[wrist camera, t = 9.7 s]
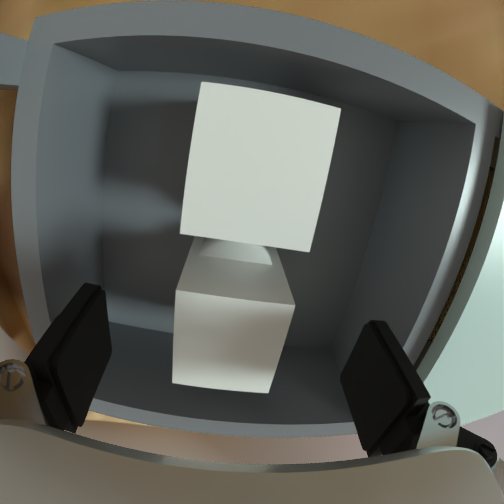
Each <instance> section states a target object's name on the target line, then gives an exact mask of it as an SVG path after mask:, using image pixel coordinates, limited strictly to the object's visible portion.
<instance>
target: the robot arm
mask: <svg viewBox="0 0 504 504" xmlns="http://www.w3.org/2000/svg"><path fill="white" fill-rule="evenodd" d="M111 354H112V344H111V337H110V329H109V321H108V312H107V301H106V292H105V291H104V290H102V289H101V286H100V285H96V284H91V283H84V284H83V285H82V286H81V287H80V289H79V290H78V291H77V293H76V294H75V295H74V296H73V298H72V299H71V300H70V301H69V303H68V304H67V305H66V307H65V308H64V309H63V311H62V312H61V313H60V314H59V315H58V316H57V317H56V318H55V319H54V321H53V322H52V323H51V325H50V326H49V327H48V329H47V330H46V332H45V333H44V334H43V336H42V337H41V339H40V340H39V341H38V343H37V344H36V346H35V347H34V349H33V350H32V352H31V353H30V355H29V356H28V358H27V359H26V361H25V362H24V363H23V362H21V361H19V360H14V359H11V360H5V361H3V362H0V504H504V461H503V460H501V459H500V458H499V459H498V460H497V452H496V449H495V448H494V446H493V444H491V443H490V442H489V441H487V440H486V439H484V438H482V437H480V436H478V435H476V434H474V433H472V432H470V431H468V430H466V429H464V428H462V427H460V417H459V414H458V412H457V411H456V409H455V408H454V407H453V406H451V405H450V404H448V403H446V402H443V401H436V402H433V403H432V404H431V405H430V404H429V402H428V401H429V399H430V398H431V396H430V394H429V392H428V390H427V389H426V387H425V385H424V383H423V382H422V380H421V378H420V377H419V375H418V373H417V371H416V370H415V368H414V366H413V365H412V363H411V361H410V360H409V358H408V356H407V355H406V353H405V351H404V350H403V348H402V346H401V345H400V343H399V342H398V340H397V338H396V337H395V335H394V334H393V332H392V330H391V329H390V327H389V326H388V324H387V323H386V322H385V321H383V320H370V321H369V322H368V323H366V324H365V325H364V326H363V328H362V331H361V333H360V335H359V337H358V339H357V342H356V344H355V346H354V348H353V350H352V352H351V354H350V356H349V358H348V360H347V362H346V364H345V366H344V368H343V370H342V372H341V375H340V382H341V385H342V388H343V391H344V394H345V397H346V400H347V403H348V406H349V409H350V412H351V415H352V418H353V421H354V424H355V427H356V430H357V433H358V436H359V439H360V442H361V446H362V448H363V450H365V451H367V455H368V458H361V459H354V460H347V461H336V462H325V463H310V464H283V465H264V464H236V463H220V462H209V461H200V460H192V459H184V458H177V457H171V456H164V455H159V454H153V453H148V452H142V451H138V450H134V449H129V448H125V447H121V446H117V445H113V444H109V443H105V442H101V441H97V440H93V439H90V438H87V437H83V436H80V435H76V434H73V433H75V432H76V430H77V427H78V426H79V427H81V426H82V425H83V423H84V421H85V418H86V416H87V413H88V410H89V408H90V405H91V403H92V400H93V398H94V395H95V393H96V390H97V388H98V385H99V383H100V381H101V378H102V376H103V374H104V371H105V369H106V367H107V364H108V362H109V360H110V357H111ZM64 430H67V431H69V432H67V431H64ZM70 432H72V433H70Z"/></svg>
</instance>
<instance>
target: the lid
mask: <svg viewBox="0 0 504 504" xmlns="http://www.w3.org/2000/svg"><path fill="white" fill-rule="evenodd" d="M416 371H417V373H418V375H419V377H420V378H421V380H422V382H423V383H424V385H425V387H426V389H427V390H428V392H429V394H430V396H431V398H430V399H429V401H428V402H429V404H430V405H431V404H432V403H433V402H436V401H443V402H446V403H448V404H450V405H451V406H453V407H454V408H455V409H456V411H457V412H458V414H459V417H460V426H461V425H464V424H467V423H470V422H473V421H476V420H479V419H482V418H484V417H487V416H490V415H492V414H495V413H497V412H500V411H502V410H504V116H503V125H502V133H501V140H500V146H499V152H498V158H497V163H496V169H495V173H494V178H493V183H492V187H491V191H490V195H489V199H488V203H487V207H486V210H485V214H484V217H483V221H482V224H481V227H480V231H479V234H478V237H477V240H476V243H475V246H474V249H473V252H472V254H471V257H470V260H469V263H468V265H467V268H466V270H465V273H464V275H463V278H462V280H461V283H460V285H459V288H458V290H457V292H456V295H455V297H454V299H453V301H452V304H451V306H450V308H449V310H448V312H447V314H446V316H445V319H444V321H443V323H442V325H441V327H440V329H439V331H438V333H437V334H436V336H435V338H434V340H433V342H432V344H431V346H430V348H429V349H428V351H427V353H426V355H425V357H424V358H423V360H422V362H421V363H420V365H419V367H418V369H417V370H416Z"/></svg>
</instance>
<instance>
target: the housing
mask: <svg viewBox="0 0 504 504" xmlns="http://www.w3.org/2000/svg"><path fill="white" fill-rule="evenodd" d="M201 82H210V83H218V84H226V85H233V86H240V87H246V88H252V89H258V90H264V91H269V92H274V93H279V94H284V95H289V96H293V97H298V98H302V99H306V100H310V101H315V102H318V103H322V104H326V105H330V106H333V107H337V108H341V112H340V118H339V123H338V128H337V133H336V138H335V143H334V148H333V153H332V158H331V162H330V167H329V172H328V176H327V181H326V185H325V190H324V194H323V199H322V203H321V207H320V211H319V216H318V220H317V224H316V228H315V232H314V236H313V240H312V244H311V248H310V252H304V251H297V250H290V249H283V248H276V249H277V252H278V255H279V258H280V261H281V264H282V267H283V270H284V273H285V276H286V278H287V281H288V284H289V287H290V290H291V293H292V296H293V299H294V302H295V309H294V312H293V316H292V319H291V323H290V326H289V329H288V333H287V336H286V339H285V343H284V346H283V349H282V352H281V355H280V359H279V362H278V365H277V368H276V371H275V374H274V377H273V380H272V383H271V386H270V389H269V392H268V393H256V392H243V391H232V390H222V389H213V388H204V387H197V386H189V385H182V384H176V383H172V370H173V335H174V313H175V296H176V288H177V285H178V282H179V279H180V276H181V273H182V271H183V268H184V265H185V262H186V259H187V256H188V254H189V251H190V248H191V245H192V242H193V240H194V237H195V236H193V235H186V234H180V226H181V217H182V208H183V199H184V190H185V182H186V175H187V167H188V160H189V153H190V146H191V140H192V133H193V127H194V121H195V115H196V109H197V103H198V98H199V93H200V87H201ZM0 89H8V90H18V94H17V100H16V108H15V116H14V126H13V138H12V156H11V200H12V218H13V230H14V240H15V249H16V256H17V263H18V270H19V276H20V281H21V287H22V292H23V297H24V301H25V306H26V310H27V314H28V318H29V322H30V326H31V330H32V334H33V337H34V341H35V344H37V343H38V341H39V340H40V339H41V337H42V336H43V334H44V333H45V332H46V330H47V329H48V327H49V326H50V325H51V323H52V322H53V321H54V319H55V318H56V317H57V316H58V315H59V314H60V313H61V312H62V311H63V309H64V308H65V307H66V305H67V304H68V303H69V301H70V300H71V299H72V298H73V296H74V295H75V294H76V293H77V291H78V290H79V289H80V287H81V286H82V285H83V284H84V283H91V284H96V285H100V286H101V289H102V290H104V291H105V292H106V301H107V312H108V321H109V329H110V337H111V344H112V354H111V357H110V360H109V362H108V364H107V367H106V369H105V371H104V374H103V376H102V378H101V381H100V383H99V385H98V388H97V390H96V393H95V395H94V398H93V400H92V403H91V405H90V408H89V411H93V412H96V413H100V414H104V415H107V416H111V417H115V418H119V419H124V420H128V421H133V422H137V423H142V424H147V425H152V426H158V427H163V428H169V429H176V430H183V431H190V432H198V433H206V434H216V435H228V436H244V437H269V438H294V437H295V438H297V437H323V436H338V435H348V434H349V435H350V434H358V433H357V430H356V427H355V424H354V421H353V418H352V415H351V412H350V409H349V406H348V403H347V400H346V397H345V394H344V391H343V388H342V385H341V382H340V375H341V372H342V370H343V368H344V366H345V364H346V362H347V360H348V358H349V356H350V354H351V352H352V350H353V348H354V346H355V344H356V342H357V339H358V337H359V335H360V333H361V331H362V328H363V326H364V325H365V324H366V323H368V322H369V321H370V320H383V321H385V322H386V323H387V324H388V326H389V327H390V329H391V330H392V332H393V334H394V335H395V337H396V338H397V340H398V342H399V343H400V345H401V346H402V348H403V350H404V351H405V353H406V355H407V356H408V358H409V360H410V361H411V363H412V365H413V366H414V368H415V370H417V369H418V367H419V365H420V363H421V362H422V360H423V358H424V357H425V355H426V353H427V351H428V349H429V348H430V346H431V344H432V342H433V341H427V340H428V338H429V337H430V335H431V333H432V331H433V329H434V327H435V325H436V323H437V321H438V319H439V316H440V314H441V312H442V310H443V308H444V306H445V304H446V301H447V299H448V297H449V295H450V292H451V290H452V287H453V285H454V283H455V280H456V278H457V275H458V273H459V270H460V268H461V265H462V262H463V260H464V257H465V254H466V251H467V248H468V245H469V243H470V240H471V237H472V233H473V230H474V227H475V224H476V220H477V217H478V214H479V210H480V206H481V203H482V199H483V195H484V191H485V187H486V182H487V178H488V173H489V169H490V167H492V168H494V169H496V163H497V158H498V152H499V146H500V140H501V133H502V125H503V116H504V111H503V110H501V109H500V108H499V107H497V106H496V105H495V104H493V103H492V102H490V101H489V100H488V99H486V98H485V97H483V96H482V95H480V94H479V93H477V92H476V91H474V90H473V89H471V88H469V87H468V86H466V85H465V84H463V83H461V82H460V81H458V80H456V79H455V78H453V77H451V76H450V75H448V74H446V73H444V72H442V71H441V70H439V69H437V68H435V67H433V66H431V65H429V64H428V63H426V62H424V61H422V60H420V59H418V58H416V57H413V56H411V55H409V54H407V53H405V52H403V51H401V50H398V49H396V48H394V47H391V46H389V45H387V44H384V43H382V42H379V41H377V40H374V39H372V38H369V37H366V36H364V35H361V34H358V33H355V32H352V31H350V30H347V29H343V28H340V27H337V26H334V25H331V24H327V23H324V22H320V21H317V20H313V19H309V18H305V17H301V16H297V15H293V14H288V13H283V12H279V11H274V10H268V9H262V8H256V7H250V6H243V5H235V4H226V3H216V2H202V1H177V0H160V1H134V2H121V3H111V4H103V5H95V6H88V7H82V8H76V9H71V10H66V11H61V12H57V13H52V14H48V15H44V16H40V17H36V18H35V21H34V24H33V27H32V31H31V34H30V38H29V41H27V40H24V39H20V38H17V37H14V36H10V35H7V34H3V33H0Z"/></svg>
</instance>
